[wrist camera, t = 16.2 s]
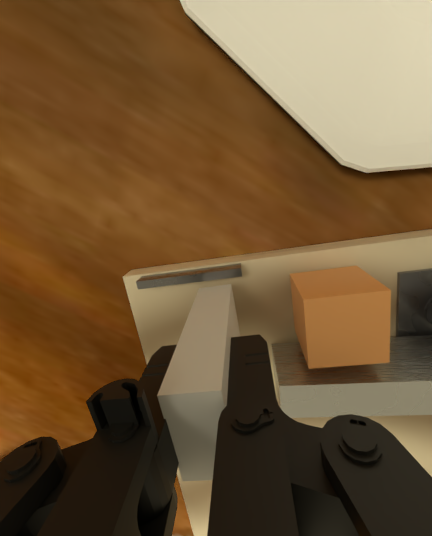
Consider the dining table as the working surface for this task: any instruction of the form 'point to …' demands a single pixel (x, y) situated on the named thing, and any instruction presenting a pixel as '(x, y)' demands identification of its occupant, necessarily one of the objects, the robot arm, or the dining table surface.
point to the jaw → (356, 382)
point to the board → (280, 318)
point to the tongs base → (408, 293)
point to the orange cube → (341, 317)
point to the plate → (338, 70)
